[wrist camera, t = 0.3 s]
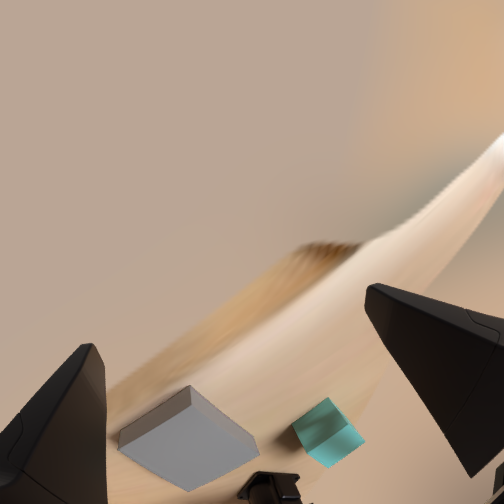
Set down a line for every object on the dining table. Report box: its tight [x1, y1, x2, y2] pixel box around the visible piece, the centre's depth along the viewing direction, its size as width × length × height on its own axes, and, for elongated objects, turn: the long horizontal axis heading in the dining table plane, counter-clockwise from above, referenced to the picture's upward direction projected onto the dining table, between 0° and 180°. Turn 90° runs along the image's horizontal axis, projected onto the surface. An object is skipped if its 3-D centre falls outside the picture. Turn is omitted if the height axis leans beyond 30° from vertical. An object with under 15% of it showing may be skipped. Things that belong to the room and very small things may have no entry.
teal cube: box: [292, 397, 365, 468], centre depth 27 cm, size 5×5×5 cm
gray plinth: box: [117, 386, 260, 492], centre depth 25 cm, size 10×10×3 cm
